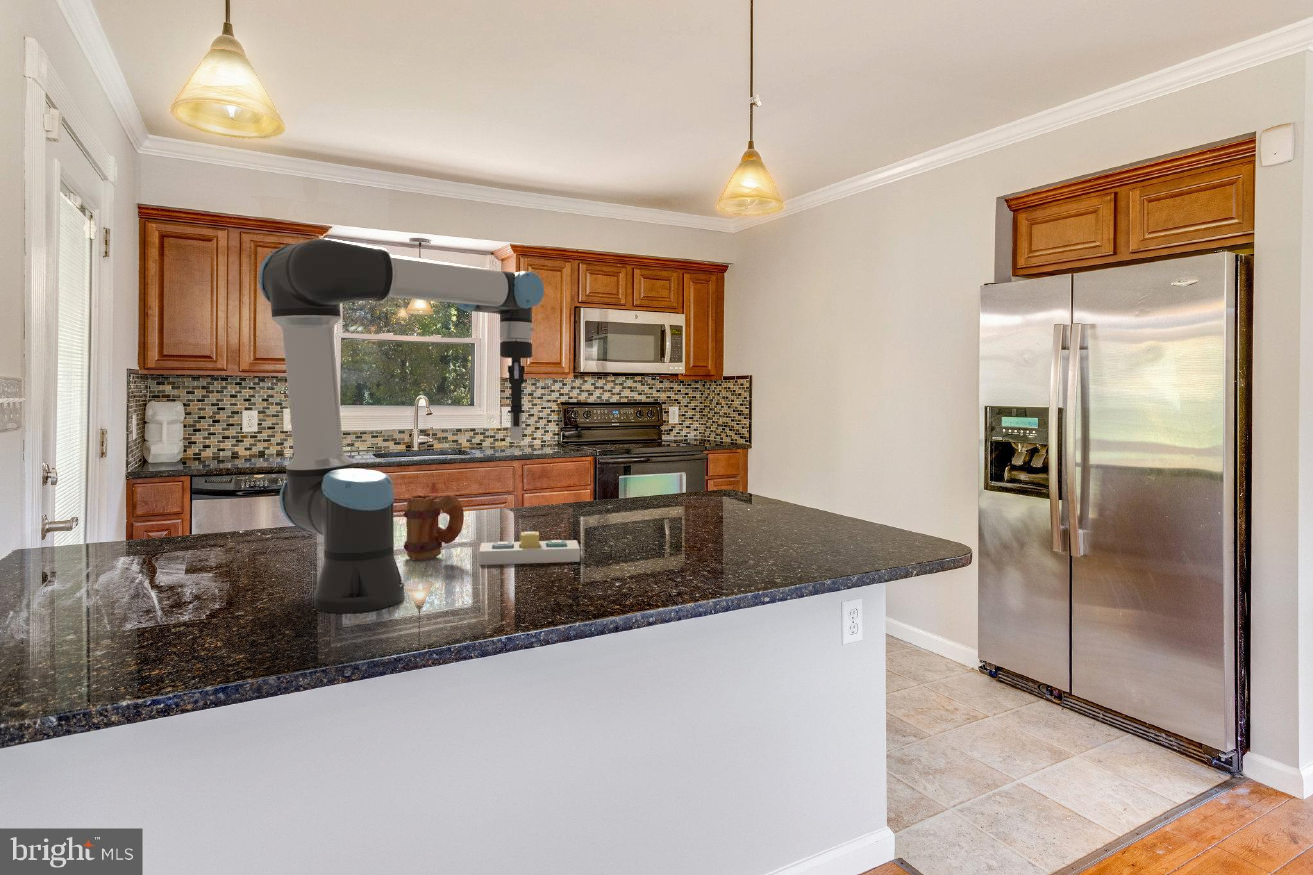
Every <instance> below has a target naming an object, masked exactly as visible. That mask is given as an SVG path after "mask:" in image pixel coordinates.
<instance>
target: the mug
mask: <svg viewBox="0 0 1313 875" xmlns="http://www.w3.org/2000/svg"><path fill="white" fill-rule="evenodd" d="M441 511H442V512H444V513H445V514H446V515H447V516H449V517H448V525H446V527H445V528H443V527H441V526H439V516H441ZM402 515H403V517H405V519H406V522H405V523H406V524H405V526H406V540H405V541H404V545H403V549H404V550H405V551H406V555H407V557H408V558H409V559H411V560H413V561H426V560H431V559H435V558H437V557H438V556H440V555H441V554H442V550H441V549H442V547H443V543H444V545H447V544H451V543H453V542H454V541H455V540H456V539H457V538H458V537H459V535H460V534H461V532H462V530H463V527H464V526H463V525H464V518H465V514H464V508H463V505H462V503H461V501H460V499H459V498H458V496H456V495H455V494H453V493H450V494H449V493H448V494H445V495H443V496H442V497H441V498H440V499H438V498H437V496H436V495H430V494H427V495H425V494H424V495H421V494H416V495H409V496H407V500H406V508H405V509H404V512H403V514H402Z"/></svg>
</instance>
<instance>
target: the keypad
mask: <svg viewBox="0 0 1313 875" xmlns="http://www.w3.org/2000/svg"><path fill="white" fill-rule="evenodd" d="M511 542H512V548H509V549H494V542H481V543H480V548H479V562H478V564H479V566H486V565H487V566H490V565H515V564H516V565H517V564H519V565H520V564H540V563H541V564H547V563H552V564H553V563H575V562H577V563H579V562H580V561H581V548H580V546H579V543H578V540H575V539H573V540H565V542H566V547H547V540H539V548H521V541H511Z"/></svg>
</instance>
